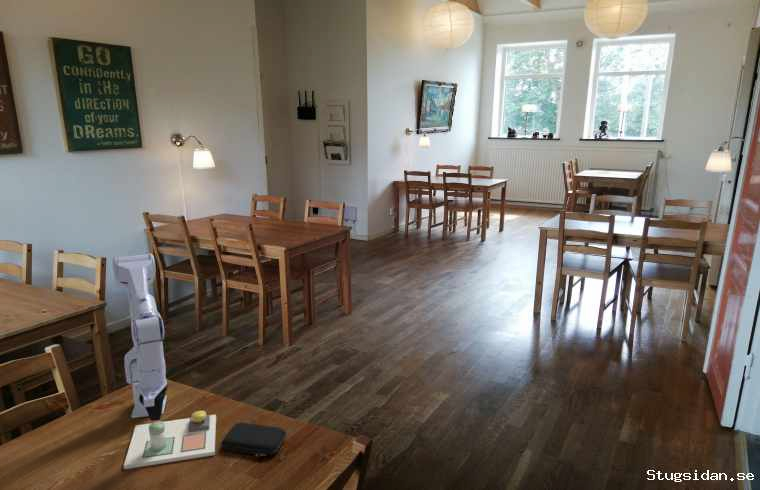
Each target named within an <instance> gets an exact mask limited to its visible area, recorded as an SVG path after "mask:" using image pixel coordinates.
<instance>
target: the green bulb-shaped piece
mask: <svg viewBox="0 0 760 490" xmlns="http://www.w3.org/2000/svg"><path fill="white" fill-rule="evenodd" d="M164 422H165V421H159V420H156V421H152V423H151V424H150V423H149V424H150V425H149V434H150V443H151V450H152V451H161V450H163V449H164V448H165V447H166V438H165V425H164Z"/></svg>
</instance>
